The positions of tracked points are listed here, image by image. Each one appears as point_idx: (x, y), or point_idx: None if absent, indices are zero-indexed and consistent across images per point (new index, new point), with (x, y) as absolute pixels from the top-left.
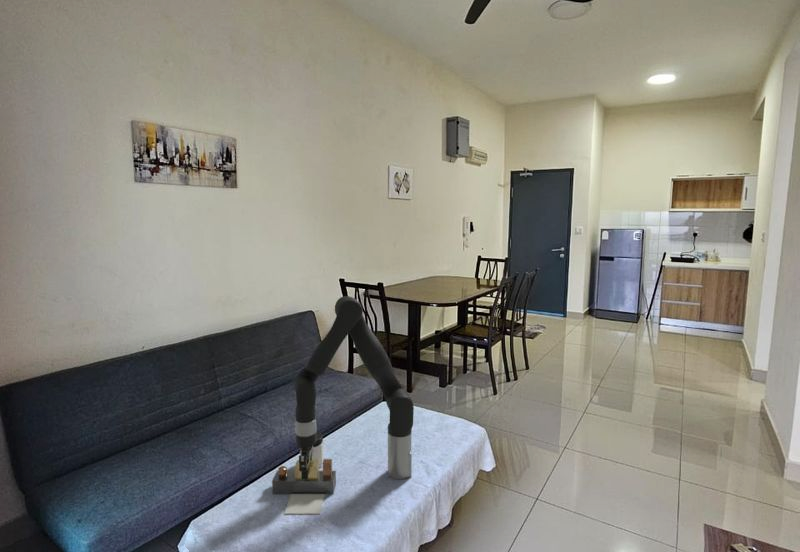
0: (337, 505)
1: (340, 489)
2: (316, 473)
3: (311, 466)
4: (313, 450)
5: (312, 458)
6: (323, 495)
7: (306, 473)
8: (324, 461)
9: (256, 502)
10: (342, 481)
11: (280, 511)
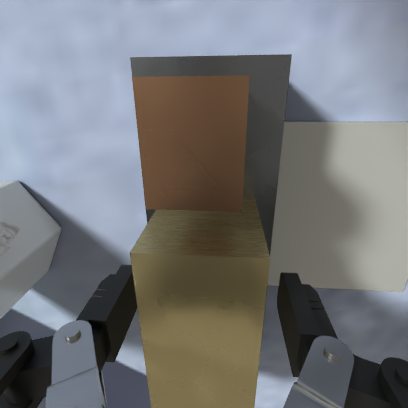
0: (399, 13)
1: (224, 20)
2: (261, 224)
3: (256, 307)
4: (2, 348)
5: (9, 259)
6: (292, 129)
7: (307, 312)
8: (205, 191)
9: (295, 381)
10: (135, 20)
11: (372, 304)
